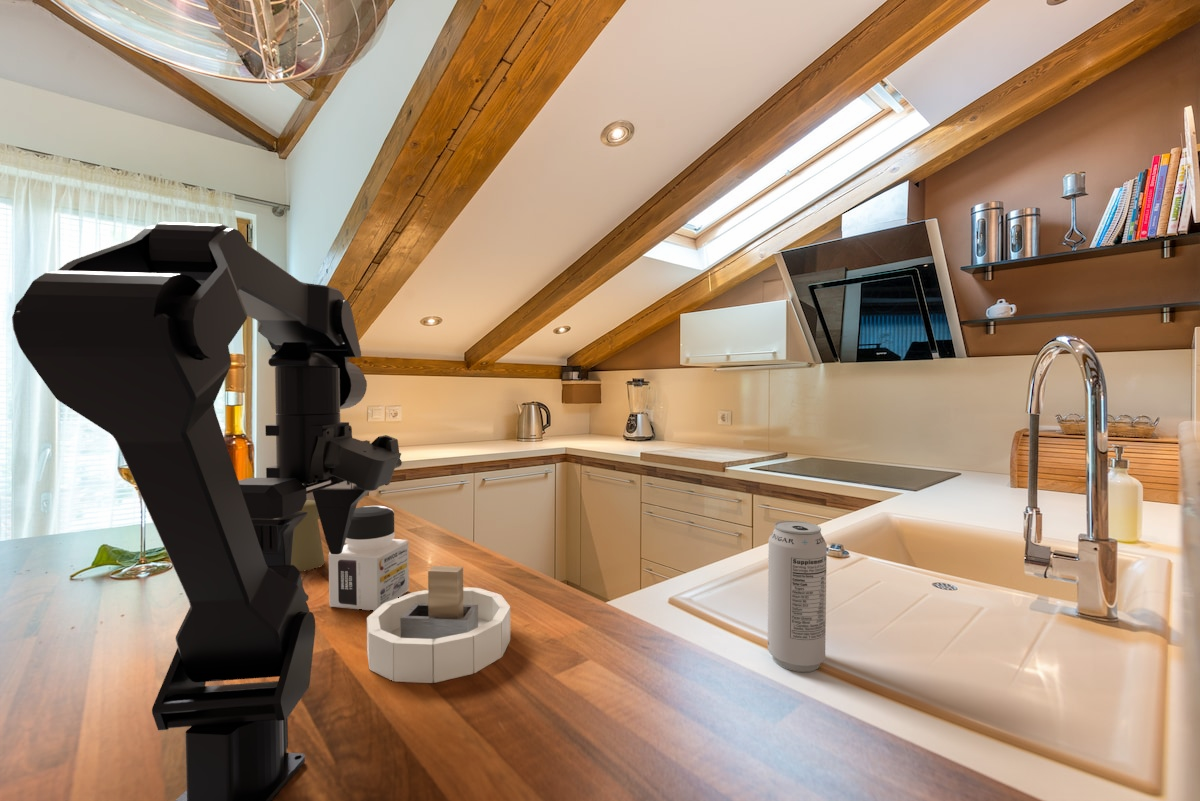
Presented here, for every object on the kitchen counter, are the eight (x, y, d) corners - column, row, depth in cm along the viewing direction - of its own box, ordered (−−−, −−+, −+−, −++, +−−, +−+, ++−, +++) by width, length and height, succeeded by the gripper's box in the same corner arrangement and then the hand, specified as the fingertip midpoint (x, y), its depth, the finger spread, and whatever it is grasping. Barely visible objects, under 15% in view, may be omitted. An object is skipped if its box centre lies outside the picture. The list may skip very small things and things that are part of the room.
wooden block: (457, 641, 62) (457, 572, 62) (428, 639, 63) (428, 570, 63) (463, 634, 64) (463, 566, 64) (435, 632, 65) (434, 565, 64)
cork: (286, 562, 93) (285, 499, 93) (325, 558, 96) (324, 496, 95) (282, 574, 88) (281, 506, 87) (324, 568, 90) (323, 502, 90)
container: (378, 612, 73) (377, 516, 73) (328, 607, 75) (326, 513, 74) (409, 591, 81) (409, 503, 80) (363, 587, 82) (362, 501, 82)
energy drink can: (802, 644, 64) (804, 518, 64) (837, 670, 58) (839, 531, 58) (757, 650, 62) (758, 521, 62) (788, 678, 57) (789, 535, 56)
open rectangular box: (469, 650, 61) (469, 621, 61) (396, 648, 61) (395, 619, 61) (481, 630, 66) (481, 603, 66) (414, 628, 66) (414, 601, 66)
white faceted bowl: (487, 685, 55) (487, 646, 55) (339, 679, 56) (339, 641, 56) (520, 619, 71) (520, 588, 71) (404, 615, 72) (403, 585, 72)
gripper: (334, 420, 45) (337, 608, 45) (423, 409, 63) (424, 542, 64) (206, 419, 45) (209, 604, 46) (331, 409, 64) (333, 540, 64)
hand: (311, 567), depth 55 cm, fingers open, 9 cm apart
